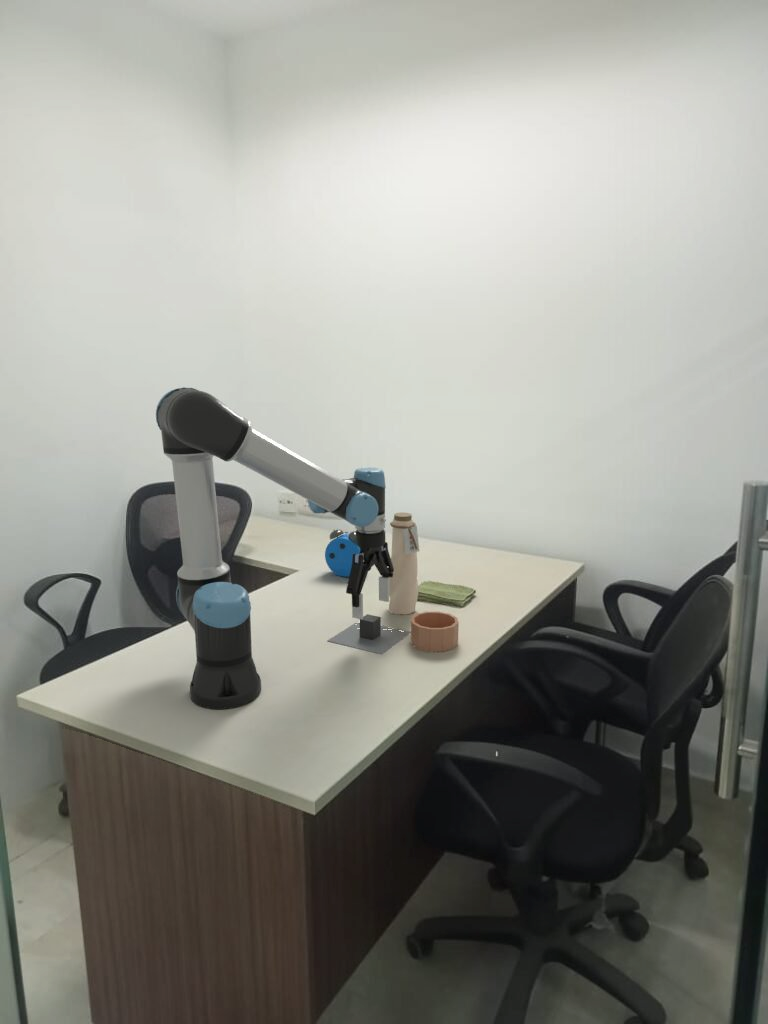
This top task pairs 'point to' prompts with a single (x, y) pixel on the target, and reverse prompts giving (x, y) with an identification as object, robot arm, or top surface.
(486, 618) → the top surface
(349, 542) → the alarm clock
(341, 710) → the top surface
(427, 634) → the bowl
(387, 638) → the cover sheet
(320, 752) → the top surface
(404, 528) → the water bottle
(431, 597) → the washcloth
